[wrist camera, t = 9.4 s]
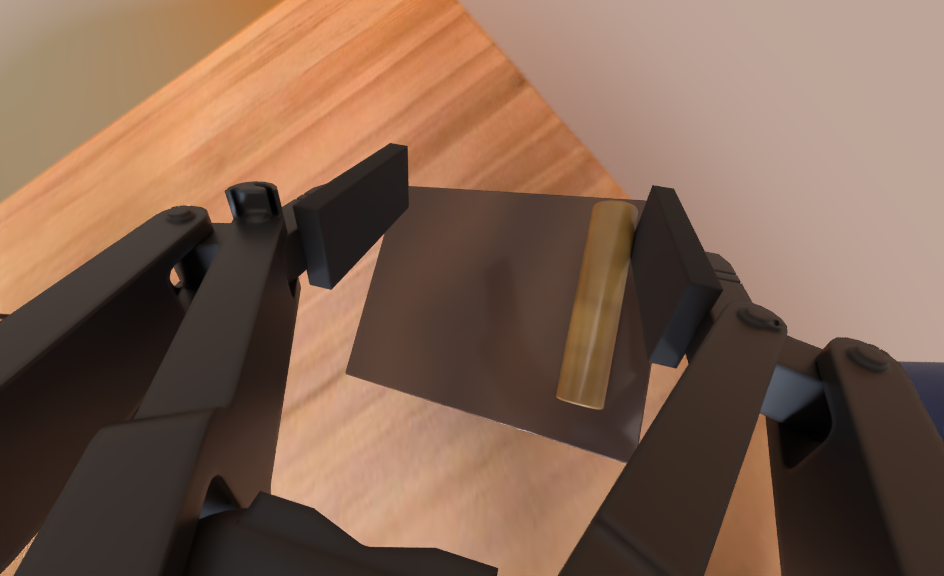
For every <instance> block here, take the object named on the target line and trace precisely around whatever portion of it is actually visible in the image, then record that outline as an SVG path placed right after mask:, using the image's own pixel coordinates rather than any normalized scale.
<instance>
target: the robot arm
mask: <svg viewBox="0 0 944 576" xmlns="http://www.w3.org/2000/svg"><path fill="white" fill-rule="evenodd" d="M225 194H226V197H227V200H228V203H229V206H230V209H231V212H232V215H233V218H234V219H233V221H232V223H211V220H210V218H209V215H208V212H207V210H206V209H204V208H202V207H196V206H180V207H178V206H176V207H172V208H171V209H168V210H165V211H163V212H161V213H159V214H157V215H155V216H154V217H152V218H151V219H149V220H148V221H146V222H145V223H143V224H142V225H140V226H139V227H138V228H136V229H135V230H133V231H132V232H130V233H129V234H127V235H126V236H124V237H123V238H121V239H120V240H119V241H117V242H116V243H114V244H113V245H111V246H110V247H108V248H107V249H105V250H104V251H102V252H101V253H99V254H98V255H97V256H95V257H94V258H92V259H91V260H89V261H88V262H86V263H85V264H83V265H82V266H80V267H79V268H78V269H76V270H75V271H73V272H72V273H70V274H69V275H67V276H66V277H64V278H63V279H61V280H60V281H59V282H57V283H56V284H54V285H53V286H51V287H50V288H48V289H47V290H45V291H44V292H42V293H41V294H39V295H38V296H37V297H35V298H34V299H32V300H31V301H29V302H28V303H26V304H25V305H23V306H22V307H20V308H19V309H18V310H16V311H15V312H13V313H12V314H10V315H9V316H7V317H6V318H4V319H3V320H1V321H0V574H1V573H2V572H3V571H4V570H5V569H6V568H7V567H8V566H9V565H10V564H11V563H12V561H13V560H14V559H15V558H16V557H17V556H18V555H19V553H20V552H21V551H22V550H23V549H24V548H25V546H26V545H27V544H28V543H29V542H30V541H31V539H32V538H33V537H34V536H35V535H36V534H37V533H38V534H37V536H36V537H35V539H34V541H33V543H32V544H31V546H30V548H29V550H28V551H27V553H26V555H25V557H24V558H23V560H22V562H21V564H20V565H19V567H18V569H17V571H16V572H15V574H14V576H497V573H498V568H496V567H493V566H490V565H487V564H484V563H480V562H477V561H474V560H471V559H468V558H465V557H462V556H459V555H456V554H453V553H450V552H447V551H443V550H440V549H437V548H405V547H368V546H364V545H362V544H360V543H359V542H358V541H356V540H355V539H354V538H352V537H351V536H350V535H348V534H347V533H346V532H344V531H343V530H342V529H340V528H339V527H338V526H337V525H335V524H334V523H333V522H331V521H330V520H329V519H327V518H326V517H325V516H323V515H322V514H321V513H319V512H318V511H317V510H315V509H314V508H311V507H308V506H305V505H302V504H299V503H296V502H293V501H290V500H286V499H283V498H280V497H277V496H274V495H271V479H272V472H273V466H274V459H275V453H276V446H277V440H278V433H279V427H280V420H281V414H282V407H283V401H284V394H285V388H286V381H287V375H288V368H289V362H290V355H291V349H292V342H293V336H294V329H295V323H296V316H297V310H298V303H299V297H300V290H301V286H300V282H299V276H300V275H301V274H302V273H303V272H304V271H305V270H306V269H307V274H308V278H309V283H310V285H313V286H318V287H322V288H326V289H331V290H332V289H333V287H334V286H335V285H336V284H337V283H338V282H339V281H340V280H341V279H342V278H343V277H344V276H345V275H346V274H347V273H348V272H349V270H350V269H351V268H352V267H353V266H354V265H355V264H356V263H357V262H358V261H359V260H360V259H361V258H362V257H363V256H364V255H365V253H366V252H367V251H368V250H369V249H370V248H371V247H372V246H373V245H374V244H375V243H376V242H377V241H378V240H379V239H380V238H381V236H382V235H383V234H384V233H385V232H386V231H387V230H388V229H389V228H390V227H391V226H392V225H393V224H394V223H395V222H396V221H397V219H398V218H399V217H400V216H401V215H402V214H403V213H404V212H405V211H406V210H407V209H408V208H409V190H408V146H405V145H398V144H392V143H390V144H388V145H387V146H385V147H384V148H382V149H380V150H379V151H377V152H376V153H374V154H373V155H371V156H369V157H368V158H366V159H365V160H363V161H362V162H360V163H358V164H357V165H355V166H354V167H352V168H351V169H349V170H348V171H346V172H344V173H343V174H341V175H340V176H338V177H337V178H335V179H333V180H332V181H330V182H329V183H327V184H324V185H321V186H318V187H314V188H312V189H311V190H309V191H307V192H306V193H304V195H301V196H299V197H298V198H297V200H296V199H295V200H293V201H291V202H290V203H288V204H287V205H285V206H283V207H281V202H280V198H279V194H278V190H277V186H275V185H274V184H272V183H267V182H257V181H255V182H245V183H240V184H236V185H234V186H231V187H229V188H228V189H227V190H225ZM630 259H631V265H632V271H633V277H634V283H635V289H636V294H637V300H638V306H639V312H640V318H641V324H642V330H643V336H644V342H645V347H646V353H647V359H648V362H651V363H655V364H660V365H664V366H668V367H673V368H677V366H678V365H679V363H680V361H681V360H682V358H683V356H684V355H685V353H686V356H687V360H688V363H689V364H688V366H687V368H686V369H685V371H684V372H683V374H682V376H681V377H680V379H679V380H678V382H677V384H676V385H675V387H674V388H673V390H672V392H671V393H670V395H669V397H668V398H667V400H666V401H665V403H664V405H663V406H662V408H661V410H660V411H659V413H658V414H657V416H656V418H655V419H654V421H653V422H652V424H651V426H650V427H649V429H648V430H647V432H646V434H645V435H644V437H643V439H642V440H641V442H640V443H639V445H638V447H637V448H636V450H635V451H634V453H633V455H632V456H631V458H630V460H629V461H628V463H627V464H626V466H625V468H624V469H623V471H622V472H621V474H620V476H619V477H618V479H617V480H616V482H615V484H614V485H613V487H612V489H611V490H610V492H609V493H608V495H607V497H606V498H605V500H604V501H603V503H602V505H601V506H600V508H599V509H598V511H597V513H596V514H595V516H594V518H593V519H592V521H591V522H590V524H589V526H588V527H587V529H586V530H585V532H584V534H583V535H582V537H581V539H580V540H579V542H578V543H577V545H576V547H575V548H574V550H573V551H572V553H571V555H570V556H569V558H568V559H567V561H566V563H565V564H564V566H563V568H562V569H561V571H560V572H559V574H558V576H704V574H705V571H706V568H707V565H708V562H709V559H710V556H711V553H712V551H713V548H714V545H715V542H716V539H717V536H718V533H719V530H720V527H721V524H722V521H723V519H724V516H725V513H726V510H727V507H728V504H729V501H730V498H731V495H732V492H733V489H734V487H735V484H736V481H737V478H738V475H739V472H740V469H741V466H742V463H743V460H744V457H745V455H746V452H747V449H748V446H749V443H750V440H751V437H752V434H753V431H754V428H755V425H756V422H757V420H758V417H759V414H760V413H761V414H763V415H765V416H766V426H767V436H768V446H769V456H770V466H771V476H772V486H773V496H774V506H775V516H776V526H777V536H778V546H779V555H780V565H781V575H782V576H944V442H943V440H942V438H941V436H940V435H939V433H938V431H937V429H936V427H935V425H934V423H933V421H932V419H931V417H930V416H929V414H928V412H927V410H926V408H925V406H924V404H923V402H922V400H921V398H920V397H919V395H918V393H917V391H916V389H915V387H914V385H913V383H912V381H911V380H910V378H909V376H908V374H907V372H906V371H905V369H904V368H903V367H902V366H901V364H900V363H899V362H897V361H896V360H895V359H893V358H892V357H891V356H890V355H889V354H888V353H887V352H885V351H883V350H882V349H881V350H880V349H879V348H878V347H876V346H874V345H871V344H867V343H864V342H862V341H859V340H855V339H850V338H835V339H833V340H832V341H830V342H829V343H828V344H827V346H826V347H825V348H824V349H820V348H818V347H815V346H813V345H810V344H807V343H805V342H802V341H799V340H797V339H794V338H792V337H790V336H787V326H786V324H785V323H784V322H783V320H782V319H781V318H780V317H778V316H777V315H776V314H774V313H773V312H771V311H770V310H768V309H765V308H764V307H762V306H759V305H756V304H753V303H752V301H751V299H750V298H749V296H748V294H747V292H746V291H745V289H744V287H743V285H742V284H740V280H739V278H738V276H736V273H735V271H734V269H733V268H732V266H731V264H730V263H729V262H727V261H726V260H725V259H724V258H723V257H721V256H720V255H719V254H715V253H709V252H705V251H704V249H703V247H702V245H701V243H700V241H699V239H698V237H697V235H696V233H695V231H694V229H693V227H692V225H691V223H690V221H689V219H688V217H687V214H686V212H685V211H684V208H683V206H682V204H681V202H680V200H679V198H678V196H677V194H676V192H675V190H674V189H672V188H665V187H660V186H654V185H653V186H652V188H651V192H650V194H649V196H648V199H647V201H646V204H645V207H644V209H643V212H642V214H641V217H640V220H639V222H638V225H637V228H636V230H635V234H634V239H633V245H632V251H631V256H630ZM173 267H174V269H175V271H176V273H177V275H178V277H179V279H180V282H179V283H178V284H177V285H175V286H174V285H173V284H172V283H171V281H170V273H171V270H172V269H173ZM139 406H140V407H139ZM138 408H139V409H138ZM137 409H138V411H137V413H136V414H135V416H134V417H133V419H132V420H129V419H130V418H131V416H132V415H133V414H134V413H135V411H136V410H137ZM38 531H39V532H38Z"/></svg>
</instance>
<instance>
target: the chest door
mask: <svg viewBox="0 0 944 576" xmlns="http://www.w3.org/2000/svg"><path fill="white" fill-rule="evenodd" d="M408 190H409V208H408V209H407V210H406V211H405V212H404V213H403V214H402V215H401V216H400V217H399V218H398V219H397V221H396V222H395V223H394V224H393V225H392V226H391V227H390V228H389V229H388V230H387V231H386V232H385V234H384V238H383V241H382V245H381V248H380V252H379V255H378V259H377V263H376V266H375V270H374V273H373V277H372V280H371V284H370V287H369V291H368V295H367V298H366V302H365V305H364V309H363V312H362V316H361V320H360V323H359V327H358V330H357V334H356V337H355V341H354V344H353V348H352V352H351V355H350V359H349V362H348V366H347V369H346V374H347V375H350V376H353V377H357V378H360V379H363V380H366V381H369V382H372V383H375V384H379V385H382V386H385V387H388V388H391V389H394V390H397V391H400V392H404V393H407V394H410V395H413V396H416V397H419V398H422V399H426V400H429V401H432V402H435V403H438V404H441V405H444V406H447V407H451V408H454V409H457V410H460V411H463V412H466V413H469V414H473V415H476V416H479V417H482V418H485V419H488V420H491V421H494V422H498V423H501V424H504V425H507V426H510V427H513V428H516V429H520V430H523V431H526V432H529V433H532V434H535V435H538V436H541V437H545V438H548V439H551V440H554V441H557V442H560V443H563V444H567V445H570V446H573V447H576V448H579V449H582V450H585V451H588V452H592V453H595V454H598V455H601V456H604V457H607V458H610V459H614V460H617V461H620V462H623V463H626V464H627V463H628V461H629V460H630V458H631V456H632V455H633V453H634V451H635V450H636V448H637V447H638V444H639V438H640V432H641V426H642V420H643V414H644V408H645V401H646V395H647V389H648V383H649V377H650V371H651V364H652V363H651V362H648V359H647V353H646V347H645V342H644V336H643V330H642V324H641V318H640V312H639V306H638V300H637V294H636V289H635V283H634V277H633V271H632V265H631V259H630V256H631V251H632V245H633V239H634V234H635V230H636V228H637V225H638V222H639V220H640V217H641V214H642V212H643V209H644V207H645V204H646V201H643V200H627V199H611V198H595V197H578V196H562V195H546V194H529V193H513V192H497V191H480V190H464V189H448V188H431V187H415V186H408Z"/></svg>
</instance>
